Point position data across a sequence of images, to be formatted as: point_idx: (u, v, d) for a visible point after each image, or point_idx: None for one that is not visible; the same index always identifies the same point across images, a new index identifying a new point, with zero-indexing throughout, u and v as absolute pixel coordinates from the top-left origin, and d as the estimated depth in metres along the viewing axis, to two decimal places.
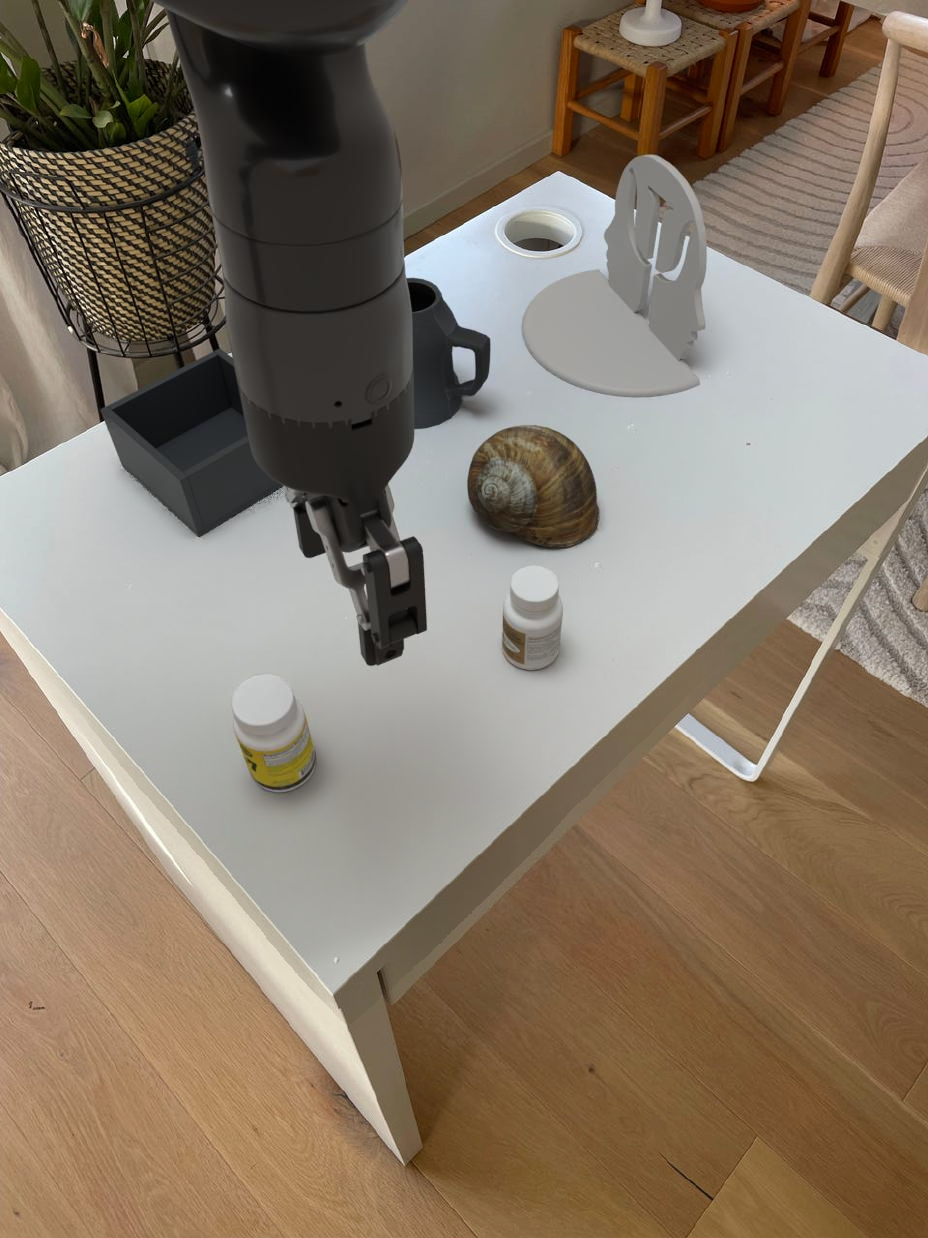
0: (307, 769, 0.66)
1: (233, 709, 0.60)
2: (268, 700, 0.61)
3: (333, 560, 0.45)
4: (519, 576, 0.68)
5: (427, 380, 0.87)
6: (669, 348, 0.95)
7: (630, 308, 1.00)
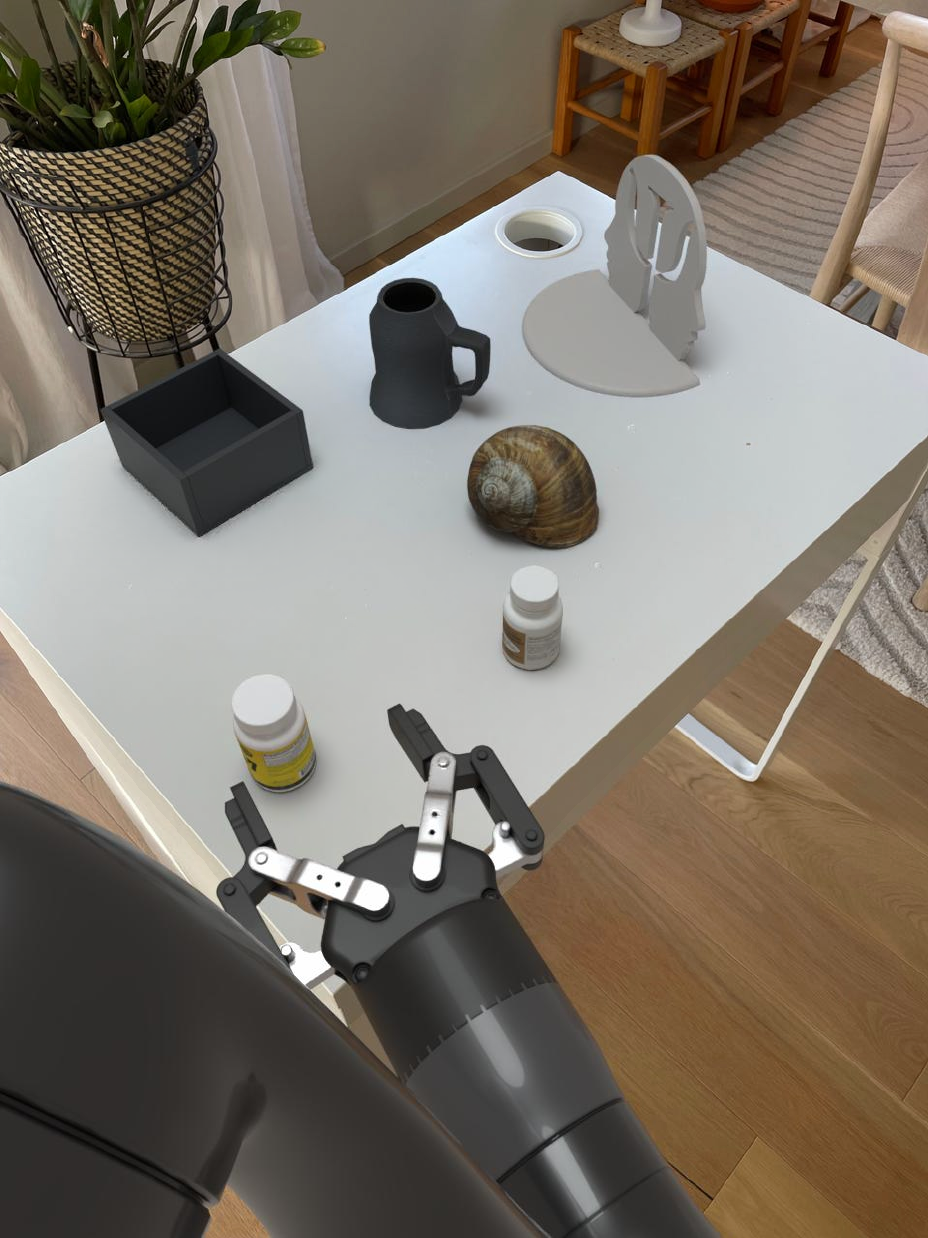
0: (307, 769, 0.66)
1: (233, 709, 0.60)
2: (268, 700, 0.61)
3: (321, 888, 0.41)
4: (519, 576, 0.68)
5: (427, 380, 0.87)
6: (669, 348, 0.95)
7: (630, 308, 1.00)
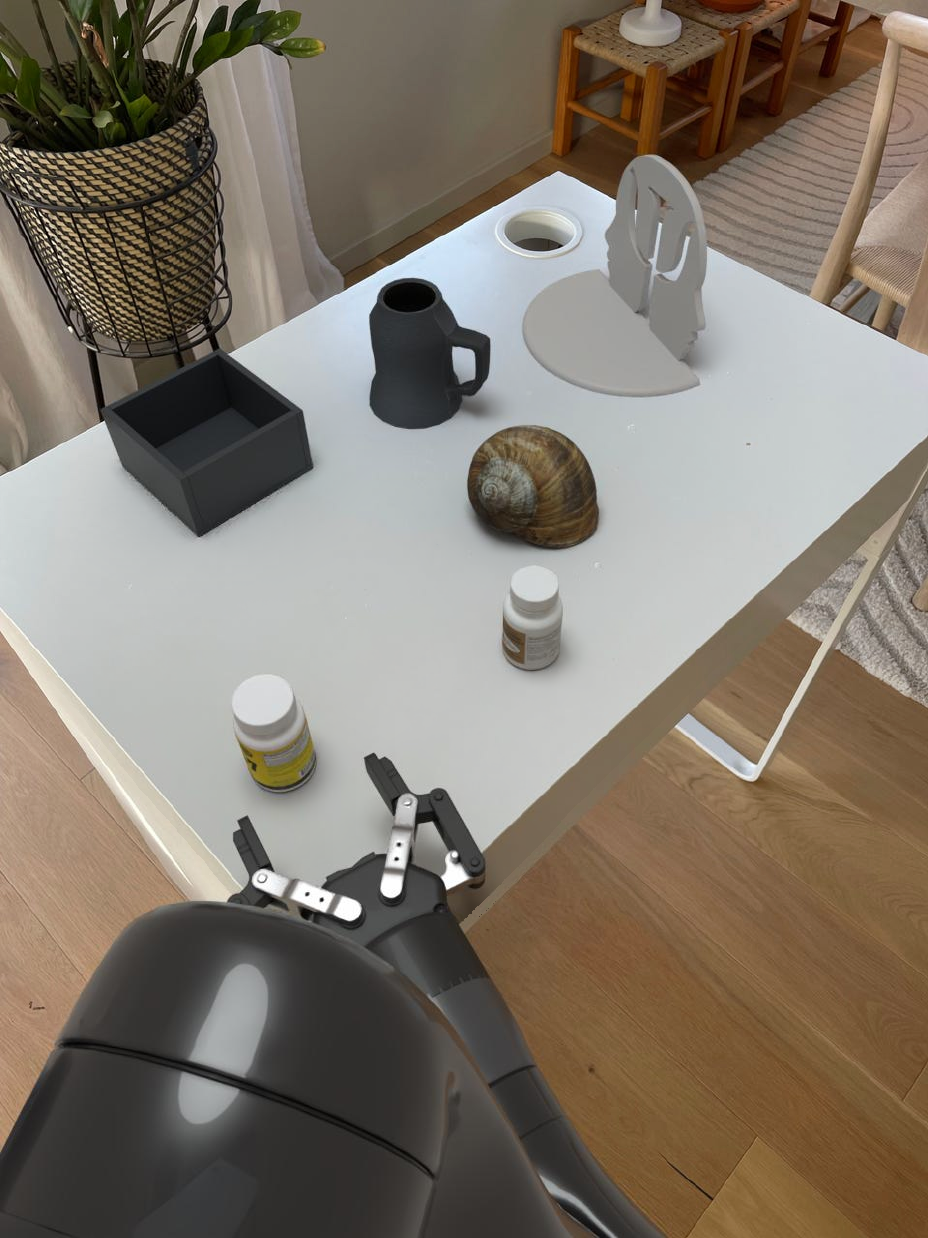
0: (307, 769, 0.66)
1: (233, 709, 0.60)
2: (268, 700, 0.61)
3: (309, 903, 0.53)
4: (519, 576, 0.68)
5: (427, 380, 0.87)
6: (670, 348, 0.95)
7: (630, 308, 1.00)
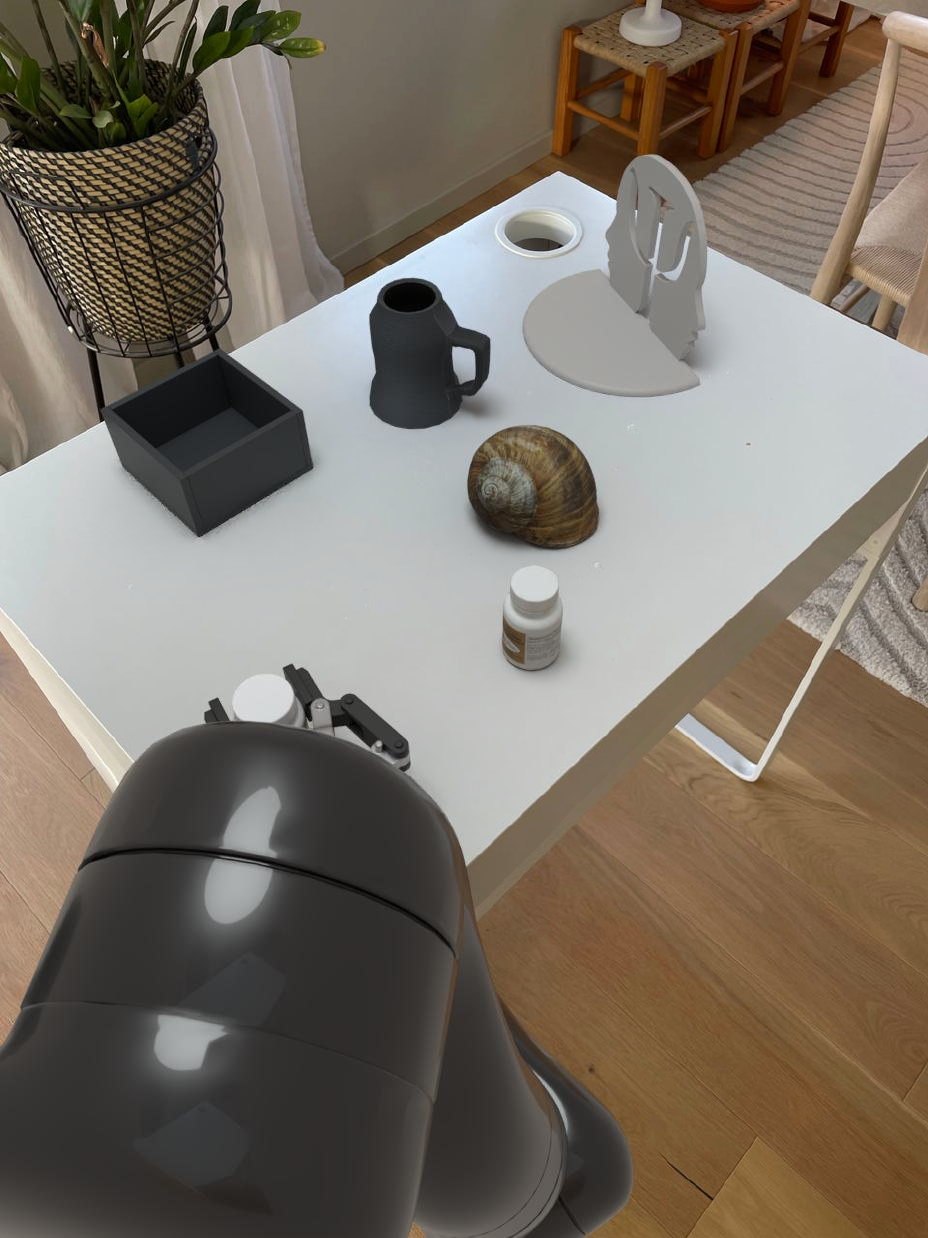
0: None
1: (233, 708, 0.60)
2: (269, 700, 0.61)
3: None
4: (519, 576, 0.68)
5: (427, 380, 0.87)
6: (670, 348, 0.95)
7: (631, 308, 1.00)
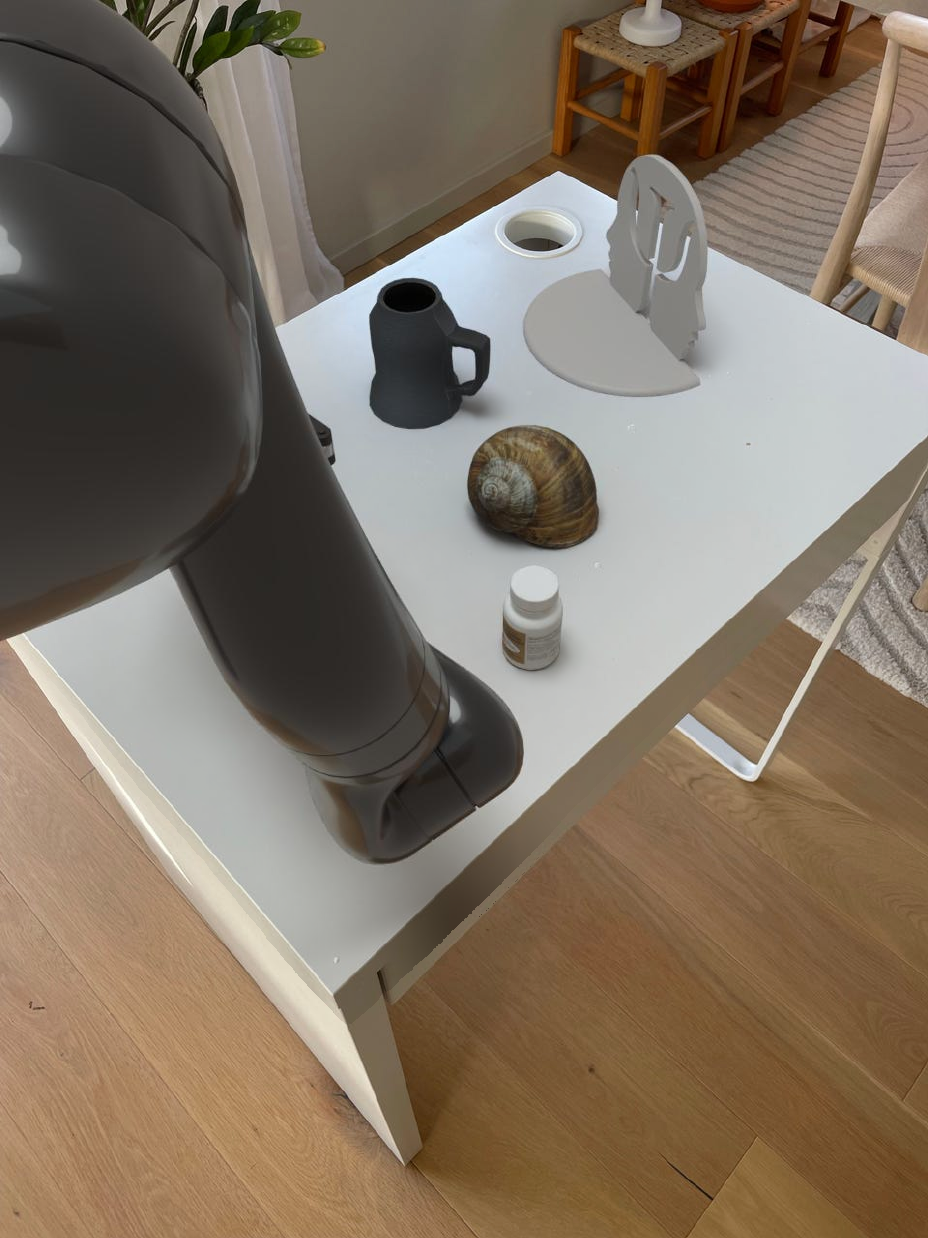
0: None
1: None
2: None
3: None
4: (519, 576, 0.68)
5: (427, 380, 0.87)
6: (670, 348, 0.95)
7: (631, 308, 1.00)
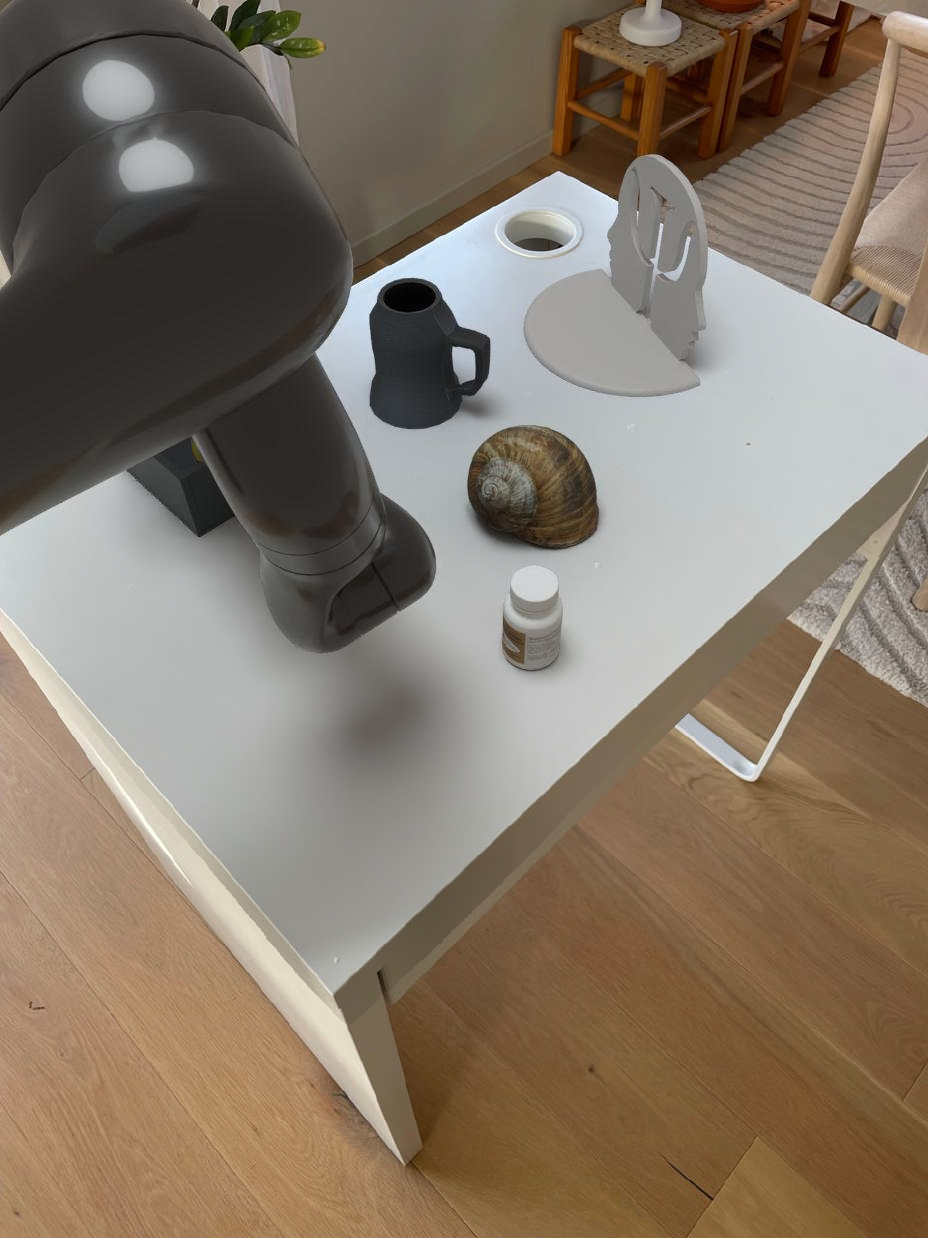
0: None
1: None
2: None
3: None
4: (519, 576, 0.68)
5: (427, 380, 0.87)
6: (670, 348, 0.95)
7: (632, 308, 1.00)
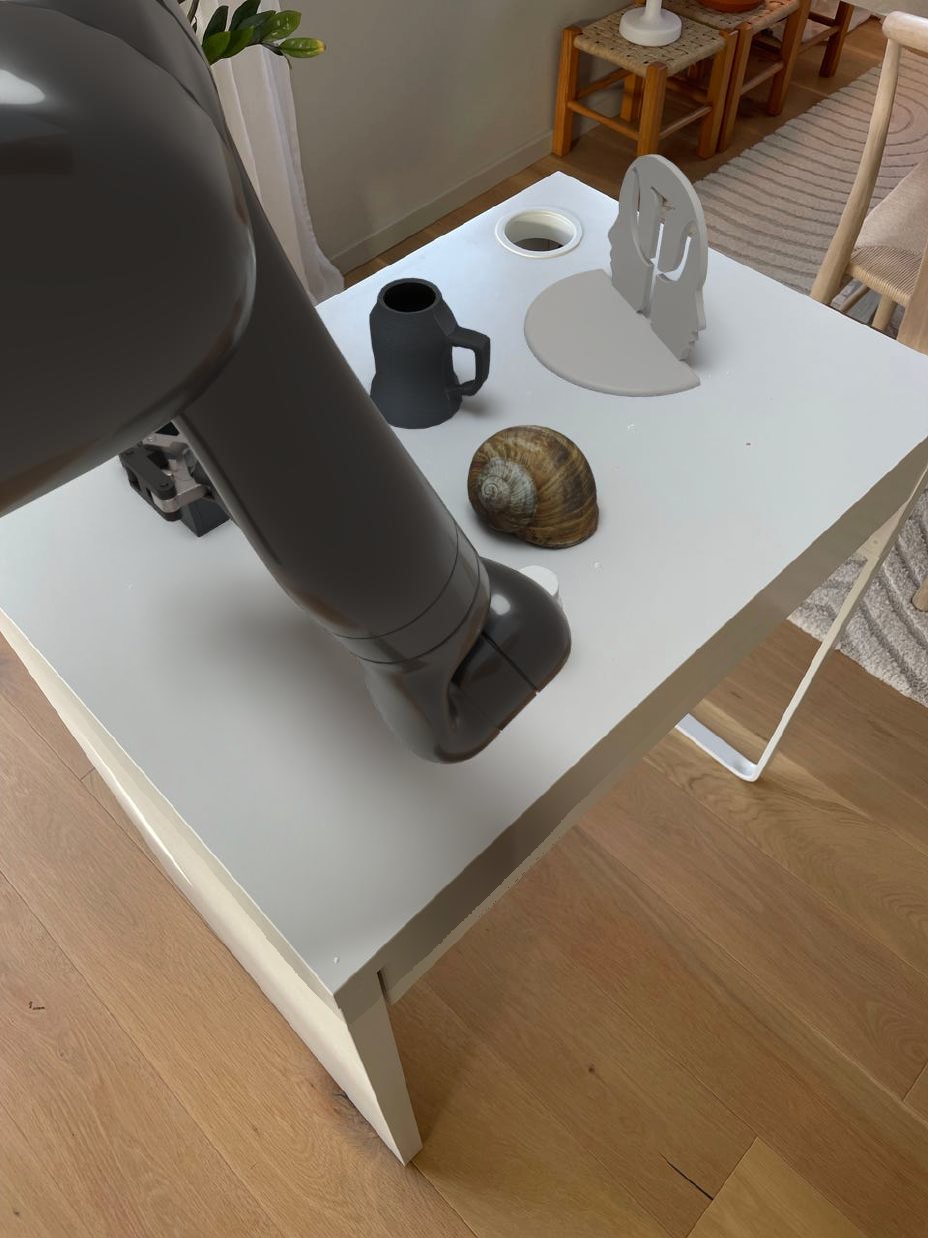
0: None
1: None
2: None
3: None
4: None
5: (427, 380, 0.87)
6: (671, 348, 0.95)
7: (632, 308, 1.00)
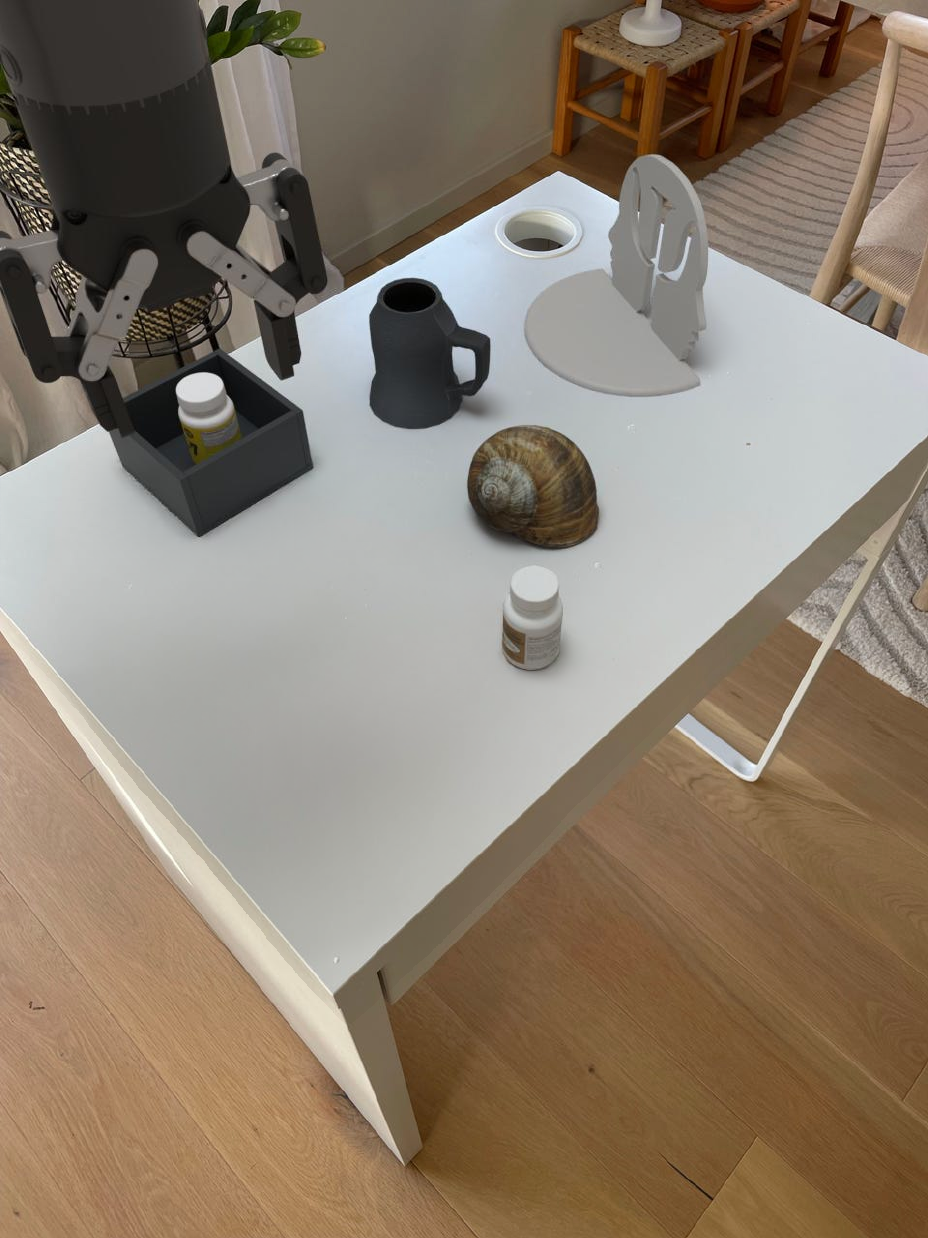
0: None
1: (177, 392, 0.79)
2: (204, 387, 0.80)
3: None
4: (519, 576, 0.68)
5: (427, 380, 0.87)
6: (671, 348, 0.95)
7: (633, 308, 1.00)
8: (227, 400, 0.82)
